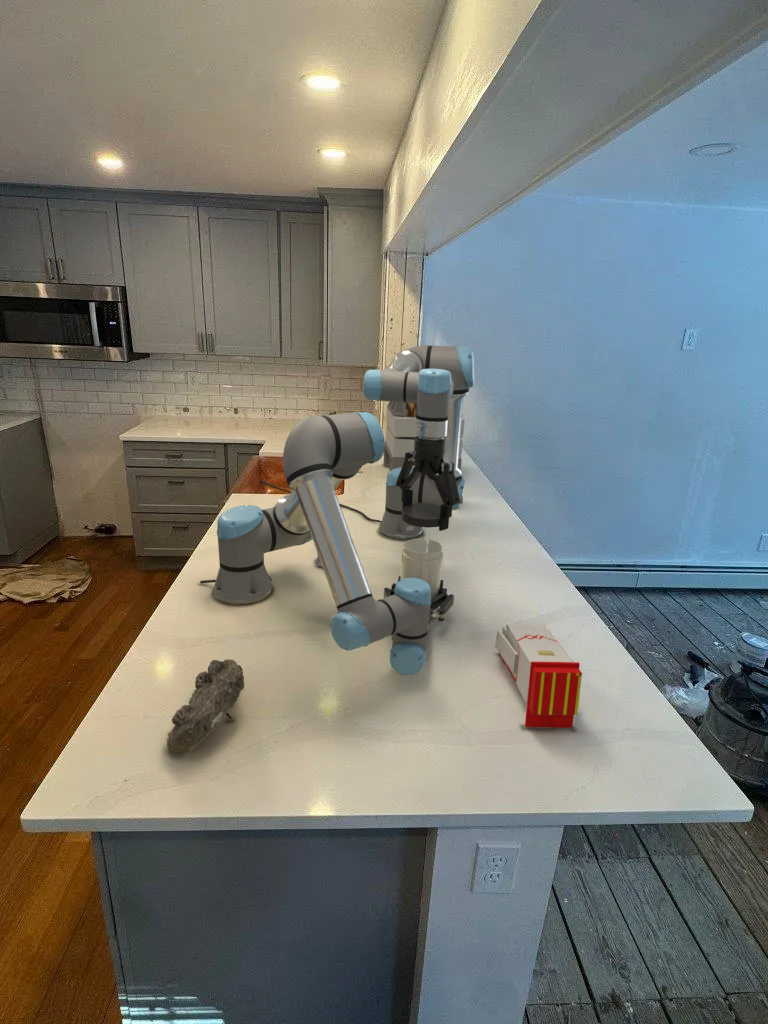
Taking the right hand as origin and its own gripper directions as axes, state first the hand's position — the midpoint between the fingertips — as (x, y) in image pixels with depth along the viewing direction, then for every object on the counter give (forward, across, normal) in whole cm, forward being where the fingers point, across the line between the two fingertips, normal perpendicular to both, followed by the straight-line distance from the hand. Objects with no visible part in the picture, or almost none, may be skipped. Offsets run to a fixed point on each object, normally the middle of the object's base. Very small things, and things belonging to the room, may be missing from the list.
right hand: (424, 522), depth 142 cm
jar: (+25, 0, 0) cm, 25 cm away
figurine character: (+26, -50, +75) cm, 94 cm away
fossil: (+24, +3, -61) cm, 66 cm away
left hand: (+19, -2, +3) cm, 19 cm away
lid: (-3, 0, 0) cm, 3 cm away
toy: (+25, +37, -5) cm, 45 cm away
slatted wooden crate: (+27, -90, +98) cm, 135 cm away
